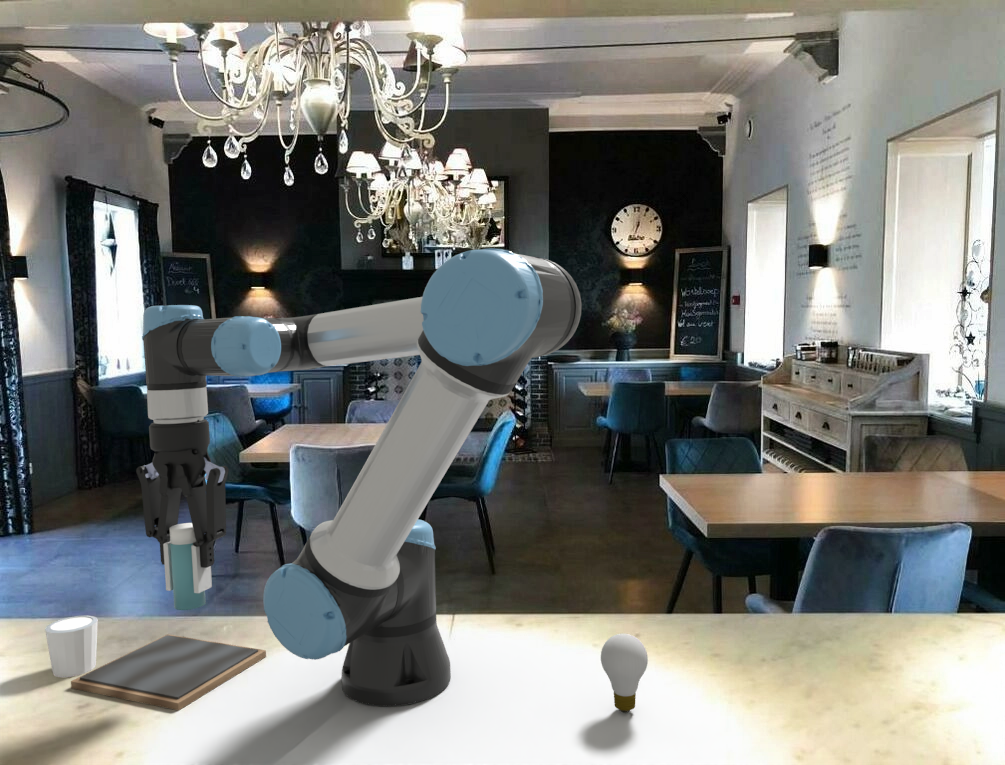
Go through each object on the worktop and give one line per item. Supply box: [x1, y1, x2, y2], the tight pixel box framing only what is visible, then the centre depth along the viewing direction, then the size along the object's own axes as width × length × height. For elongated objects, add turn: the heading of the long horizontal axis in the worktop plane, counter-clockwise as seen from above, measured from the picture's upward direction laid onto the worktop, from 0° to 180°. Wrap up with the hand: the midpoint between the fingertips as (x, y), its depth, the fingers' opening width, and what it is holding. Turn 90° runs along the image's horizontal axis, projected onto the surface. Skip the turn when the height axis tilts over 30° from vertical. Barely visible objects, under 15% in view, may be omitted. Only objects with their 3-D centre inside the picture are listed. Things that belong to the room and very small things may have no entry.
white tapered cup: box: [44, 615, 99, 678], centre depth 115 cm, size 7×7×7 cm
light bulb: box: [600, 633, 649, 714], centre depth 98 cm, size 6×6×10 cm
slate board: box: [70, 634, 267, 711], centre depth 113 cm, size 20×18×1 cm
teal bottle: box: [170, 522, 206, 611], centre depth 106 cm, size 4×4×11 cm
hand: (189, 588), depth 106 cm, fingers closed on teal bottle, 4 cm apart
